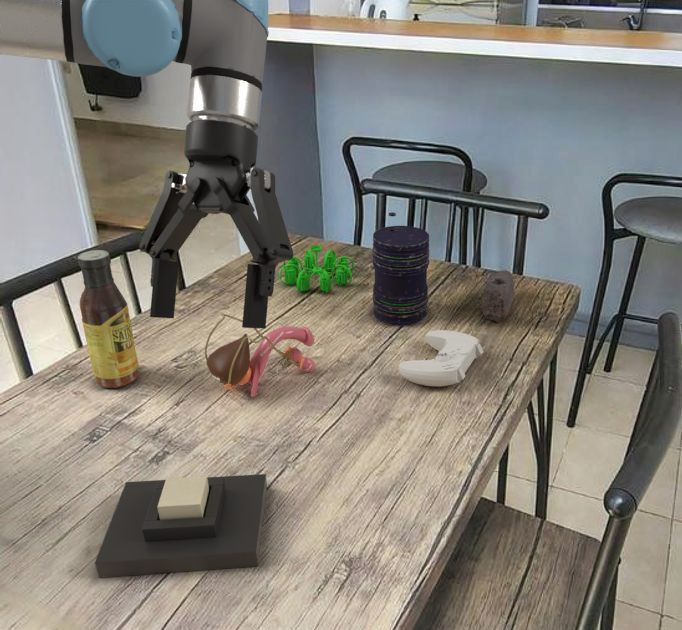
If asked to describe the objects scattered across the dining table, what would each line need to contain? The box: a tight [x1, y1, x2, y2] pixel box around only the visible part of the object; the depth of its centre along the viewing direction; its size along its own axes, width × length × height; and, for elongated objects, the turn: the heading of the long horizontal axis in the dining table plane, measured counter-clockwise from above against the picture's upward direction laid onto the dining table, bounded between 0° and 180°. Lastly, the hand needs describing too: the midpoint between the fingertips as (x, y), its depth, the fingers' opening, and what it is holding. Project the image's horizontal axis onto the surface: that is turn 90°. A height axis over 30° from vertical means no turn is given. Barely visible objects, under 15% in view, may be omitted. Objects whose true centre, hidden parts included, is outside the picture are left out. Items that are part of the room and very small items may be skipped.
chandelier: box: [278, 245, 355, 294], centre depth 133 cm, size 15×15×7 cm
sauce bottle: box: [77, 249, 139, 389], centre depth 97 cm, size 6×6×20 cm
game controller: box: [398, 329, 484, 387], centre depth 106 cm, size 14×4×10 cm
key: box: [157, 475, 209, 520], centre depth 74 cm, size 4×4×2 cm
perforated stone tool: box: [480, 269, 515, 323], centre depth 124 cm, size 15×5×7 cm, turn 164°
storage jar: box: [371, 211, 430, 327], centre depth 119 cm, size 10×10×18 cm
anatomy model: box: [204, 313, 316, 398], centre depth 101 cm, size 10×14×15 cm
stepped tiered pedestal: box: [94, 473, 268, 579], centre depth 75 cm, size 16×12×4 cm
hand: (205, 323), depth 74 cm, fingers open, 13 cm apart
